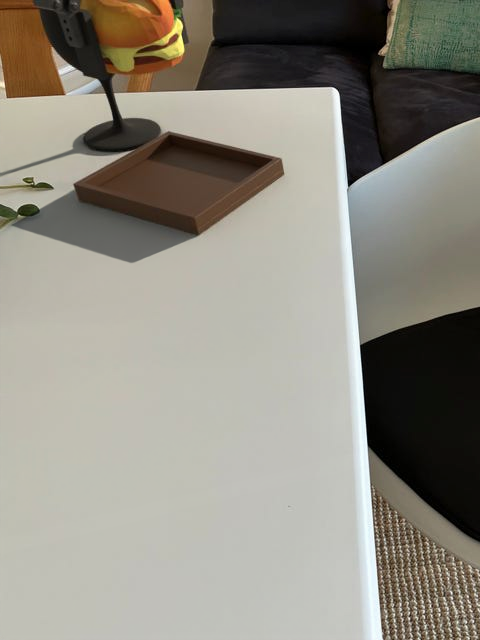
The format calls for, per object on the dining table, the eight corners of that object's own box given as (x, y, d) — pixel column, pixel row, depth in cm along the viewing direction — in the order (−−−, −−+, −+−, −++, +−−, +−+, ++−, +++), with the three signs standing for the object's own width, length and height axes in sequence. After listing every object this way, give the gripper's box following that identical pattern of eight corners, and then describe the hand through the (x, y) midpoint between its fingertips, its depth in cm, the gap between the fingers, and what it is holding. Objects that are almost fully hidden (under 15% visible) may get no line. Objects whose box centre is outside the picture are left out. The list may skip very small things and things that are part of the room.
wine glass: (85, 157, 104) (29, -1, 91) (81, 127, 111) (29, -24, 98) (166, 144, 107) (123, -11, 94) (156, 115, 115) (116, -32, 102)
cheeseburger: (188, 38, 89) (168, -49, 81) (198, 95, 83) (178, 7, 75) (93, 46, 86) (63, -44, 78) (97, 105, 81) (65, 15, 73)
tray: (78, 200, 95) (72, 183, 94) (172, 146, 107) (168, 130, 105) (199, 235, 90) (194, 218, 88) (284, 174, 101) (281, 158, 99)
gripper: (-16, -175, 59) (77, 104, 74) (195, -202, 75) (238, 31, 90) (-82, -182, 62) (21, 90, 76) (136, -207, 78) (187, 21, 92)
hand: (138, 58), depth 83 cm, fingers closed on cheeseburger, 11 cm apart
